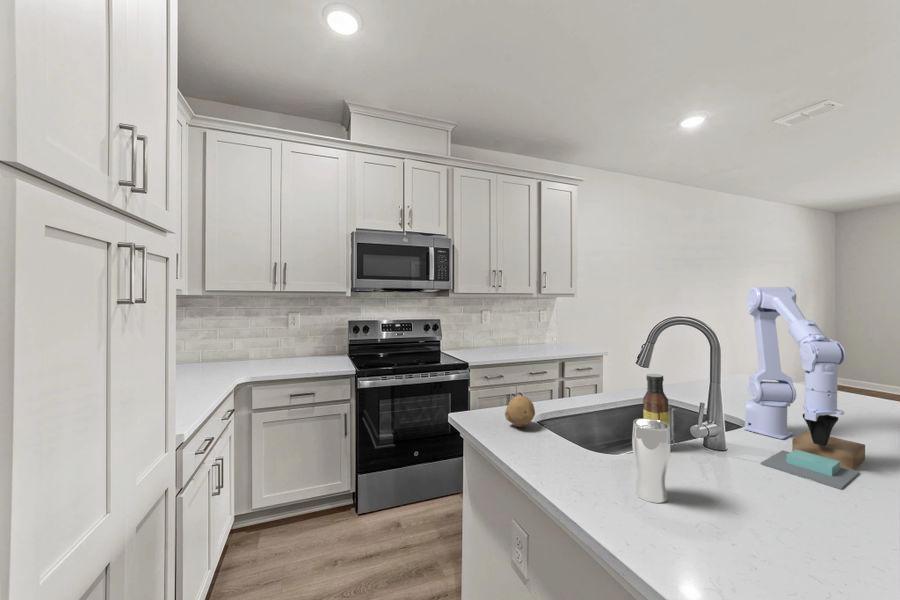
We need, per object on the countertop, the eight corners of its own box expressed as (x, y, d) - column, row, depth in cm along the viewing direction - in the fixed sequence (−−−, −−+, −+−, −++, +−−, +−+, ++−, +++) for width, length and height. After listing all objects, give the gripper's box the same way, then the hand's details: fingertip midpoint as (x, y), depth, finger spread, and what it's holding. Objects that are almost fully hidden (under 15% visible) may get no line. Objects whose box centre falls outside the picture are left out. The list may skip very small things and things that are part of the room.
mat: (760, 464, 91) (760, 462, 91) (782, 451, 99) (782, 450, 99) (841, 489, 79) (841, 487, 79) (859, 473, 87) (859, 471, 87)
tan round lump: (540, 431, 113) (540, 399, 113) (513, 434, 111) (513, 401, 111) (527, 421, 122) (527, 391, 122) (502, 424, 120) (502, 393, 120)
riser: (792, 453, 97) (792, 438, 97) (806, 445, 103) (806, 430, 103) (852, 470, 88) (853, 453, 88) (865, 460, 93) (865, 444, 93)
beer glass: (669, 508, 73) (670, 432, 72) (630, 498, 76) (630, 425, 76) (670, 492, 78) (670, 421, 78) (633, 483, 82) (634, 415, 82)
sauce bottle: (667, 444, 103) (667, 373, 103) (672, 453, 97) (673, 378, 97) (641, 441, 105) (641, 371, 105) (644, 450, 100) (645, 376, 99)
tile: (795, 449, 94) (795, 457, 95) (786, 454, 91) (786, 462, 91) (840, 461, 88) (840, 469, 88) (832, 467, 85) (831, 476, 85)
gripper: (834, 397, 85) (833, 456, 85) (852, 389, 92) (851, 443, 92) (793, 390, 91) (792, 446, 91) (813, 383, 98) (813, 434, 98)
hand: (819, 444), depth 92 cm, fingers closed
